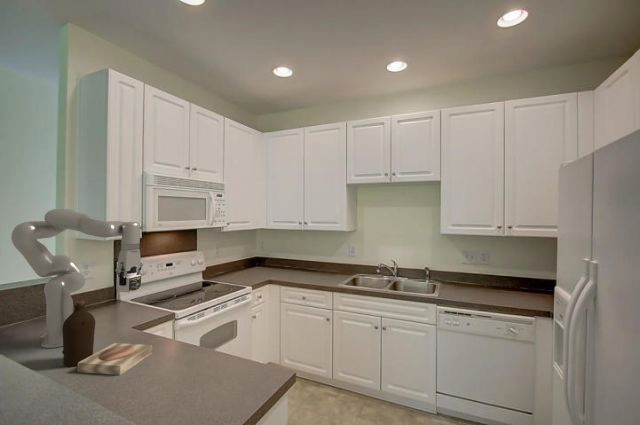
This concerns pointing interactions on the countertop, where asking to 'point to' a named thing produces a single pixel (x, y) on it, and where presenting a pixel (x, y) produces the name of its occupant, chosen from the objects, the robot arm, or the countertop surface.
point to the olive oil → (78, 335)
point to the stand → (115, 359)
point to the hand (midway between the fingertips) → (129, 283)
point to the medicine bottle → (130, 281)
